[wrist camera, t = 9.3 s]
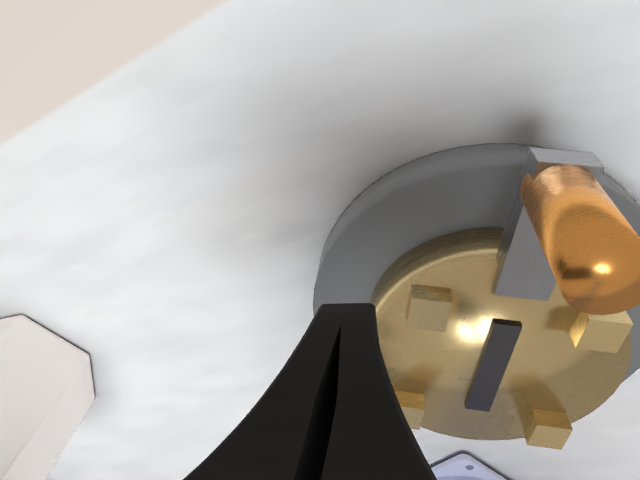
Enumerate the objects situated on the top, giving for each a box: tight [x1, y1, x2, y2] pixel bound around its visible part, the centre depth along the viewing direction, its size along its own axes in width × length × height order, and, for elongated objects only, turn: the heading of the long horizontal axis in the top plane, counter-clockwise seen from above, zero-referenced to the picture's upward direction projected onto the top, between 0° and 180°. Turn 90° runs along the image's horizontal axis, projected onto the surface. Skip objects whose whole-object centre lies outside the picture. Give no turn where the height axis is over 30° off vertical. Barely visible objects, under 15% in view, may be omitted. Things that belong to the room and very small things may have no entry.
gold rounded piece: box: [369, 147, 640, 449], centre depth 17 cm, size 14×10×7 cm
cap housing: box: [313, 144, 640, 383], centre depth 22 cm, size 15×15×2 cm
